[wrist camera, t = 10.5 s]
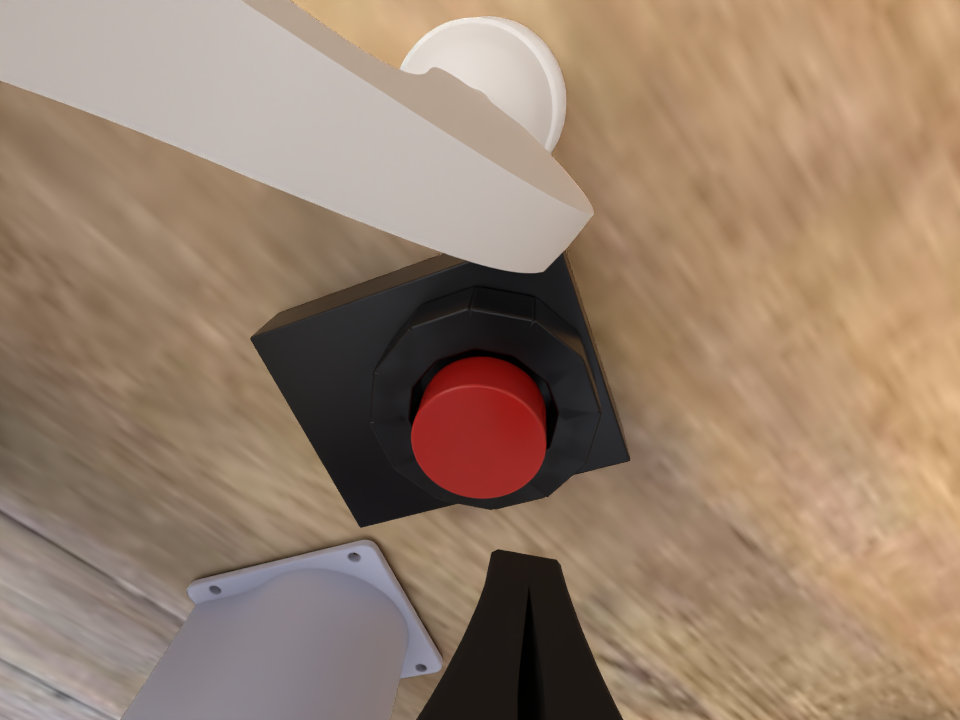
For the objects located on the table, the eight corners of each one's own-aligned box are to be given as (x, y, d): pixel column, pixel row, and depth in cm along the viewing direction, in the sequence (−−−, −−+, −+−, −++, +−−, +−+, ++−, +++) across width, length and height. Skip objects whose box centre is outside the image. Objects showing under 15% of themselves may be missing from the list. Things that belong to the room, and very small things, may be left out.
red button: (449, 474, 18) (441, 512, 16) (402, 376, 16) (388, 407, 15) (561, 445, 17) (564, 482, 15) (521, 339, 16) (519, 367, 14)
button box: (375, 490, 23) (344, 565, 19) (277, 313, 20) (220, 363, 16) (622, 425, 21) (639, 497, 17) (553, 213, 18) (557, 246, 14)
